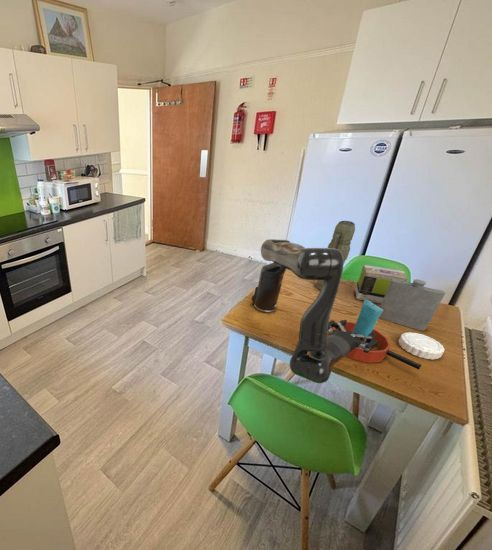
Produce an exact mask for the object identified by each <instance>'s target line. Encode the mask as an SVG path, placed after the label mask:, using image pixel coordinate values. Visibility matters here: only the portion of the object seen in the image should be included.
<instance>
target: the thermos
mask: <svg viewBox="0 0 492 550" xmlns="http://www.w3.org/2000/svg"><path fill="white" fill-rule="evenodd" d="M355 232H356V223H355V222H354V221H350V220H340V221H338V223H337V224H336V226H335V227H334V230H333V233H332V238H331V240H330V242H329V243H328V245H327V248H335V249H338V250H339V251H340V252H341V253H342V255H343V262H344V263H345V262H346V261H347V259H348V257H349V254H350V251H351V243H352V242H351V241H352V240H353V237H354V234H355ZM322 284H323V280H316V285H315V288H316V289H317V290H319V292H320V291H321V288H322Z"/></svg>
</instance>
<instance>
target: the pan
mask: <svg viewBox="0 0 492 550" xmlns="http://www.w3.org/2000/svg"><path fill="white" fill-rule="evenodd" d="M355 325H356V322H352V321H347V322H346V325H345V326H343V327H344V329H345V330H348V331H350V332H352V333H353V330H354V327H355ZM332 330H336V329H335V327H333V328H332ZM372 332H374V333H375V335H376V336H375V338H374V339H373V340H377V341H378V342H377V344H376V346H377V347H378V348H379V349H380V350H379V349H378V350H371V351H369V352H368V353H365V352H364V351H363V350H364V349H361V348H357V347H356V348H355V349H353V350H352V351H351V352H350V353H349V354H348V355H347V356H346V357H348V358H350V359H352V360H356V361H358V362H363V363H366V364H367V363H369V364H370V363H371V364H372V363H380V362H382V361H383V360H384V359H385V358H386V357H387V356H389V357H391V358H393V359H395V360H397V361H398V362H399V361H400V362H402V363H403V364H406V365H408V366H410V367H412V368H414V369H415V370H420V369H421V368H422V364H421V363H418V362H416V361H414V360H412V359H409V358H408V357H405V356H403V355H401V354H399V353H396V352H394V351H392V350H390V349H391V343H390V341H389V339H388V337H386V336H385V335H384V334H383V333H381V332H380V331H378V330H377V329H375V328H373V330H372ZM330 334H331V333H329V335H330Z"/></svg>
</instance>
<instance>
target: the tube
mask: <svg viewBox="0 0 492 550" xmlns="http://www.w3.org/2000/svg"><path fill="white" fill-rule="evenodd" d="M382 311H383V309H381V308H380V306H378V305H376V303H374V302H370V301H369V300H367V299H365V300H363V303H362V306H361V308H360V311H359V314H358V317H357V320H356V322H355V323H356V325H355V327H354V330H353V333H354V334H357V335H364V336H368V335H369V334H370V333H371V332H372V330H373V329H375V326H376V324H377V322H378V321H379V318H380V315H381V313H382ZM359 339H360V338H359ZM365 340H366V339H365ZM357 348H360V347H357ZM361 349H362V348H361Z"/></svg>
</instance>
